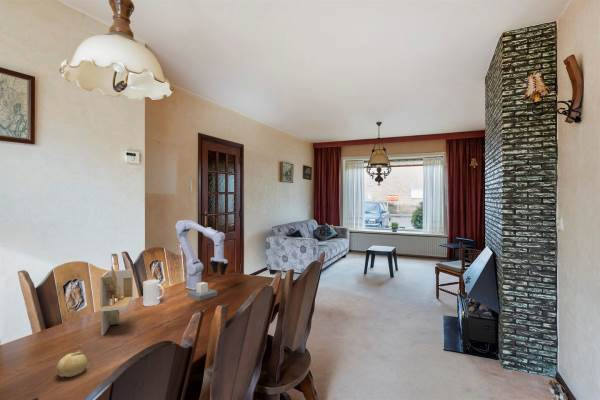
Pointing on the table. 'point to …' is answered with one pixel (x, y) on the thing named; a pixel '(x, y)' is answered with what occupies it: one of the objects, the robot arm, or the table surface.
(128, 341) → the table surface
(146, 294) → the mug
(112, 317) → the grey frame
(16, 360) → the table surface
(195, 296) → the plate
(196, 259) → the robot arm
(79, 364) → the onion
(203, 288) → the block
